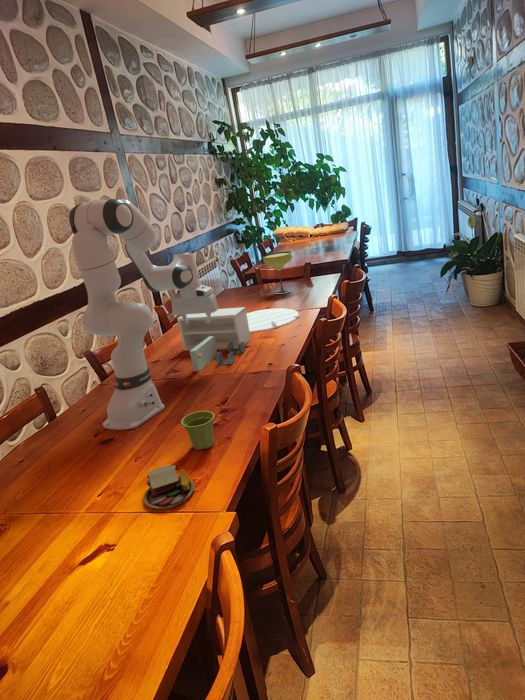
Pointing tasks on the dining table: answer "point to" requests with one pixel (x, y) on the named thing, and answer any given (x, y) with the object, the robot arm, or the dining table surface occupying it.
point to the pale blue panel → (203, 353)
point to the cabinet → (216, 328)
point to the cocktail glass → (278, 262)
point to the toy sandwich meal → (167, 488)
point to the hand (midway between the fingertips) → (198, 323)
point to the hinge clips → (230, 354)
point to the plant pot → (200, 429)
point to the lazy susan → (270, 318)
